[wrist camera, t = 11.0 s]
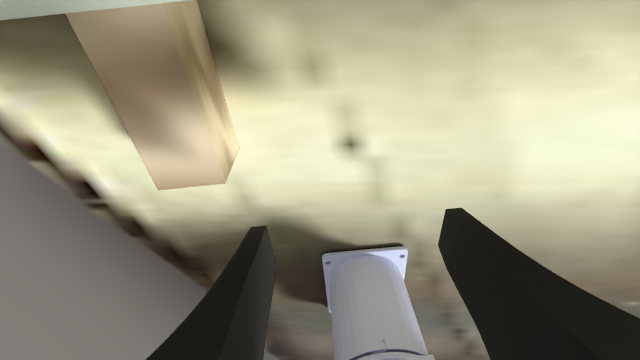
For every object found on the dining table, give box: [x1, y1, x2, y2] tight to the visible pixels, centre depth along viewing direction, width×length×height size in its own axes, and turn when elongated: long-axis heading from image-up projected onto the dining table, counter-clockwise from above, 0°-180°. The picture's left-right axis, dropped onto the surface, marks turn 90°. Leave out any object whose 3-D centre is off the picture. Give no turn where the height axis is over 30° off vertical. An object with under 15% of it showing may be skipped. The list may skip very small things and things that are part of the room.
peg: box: [65, 0, 239, 190], centre depth 15 cm, size 12×4×5 cm, turn 5°
